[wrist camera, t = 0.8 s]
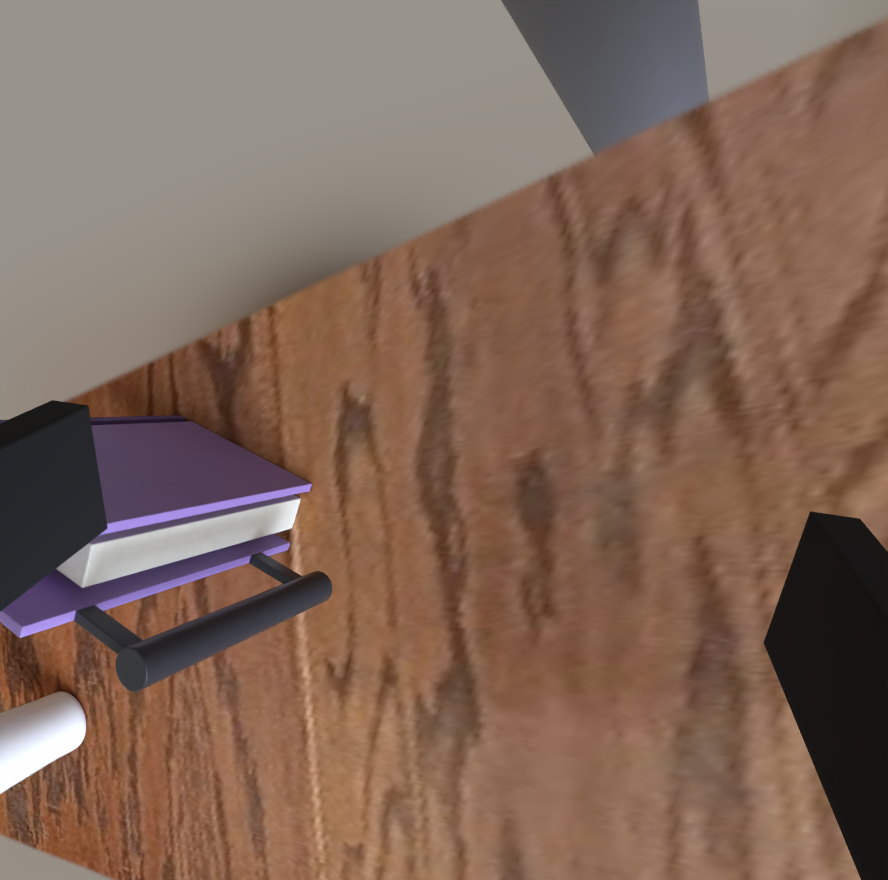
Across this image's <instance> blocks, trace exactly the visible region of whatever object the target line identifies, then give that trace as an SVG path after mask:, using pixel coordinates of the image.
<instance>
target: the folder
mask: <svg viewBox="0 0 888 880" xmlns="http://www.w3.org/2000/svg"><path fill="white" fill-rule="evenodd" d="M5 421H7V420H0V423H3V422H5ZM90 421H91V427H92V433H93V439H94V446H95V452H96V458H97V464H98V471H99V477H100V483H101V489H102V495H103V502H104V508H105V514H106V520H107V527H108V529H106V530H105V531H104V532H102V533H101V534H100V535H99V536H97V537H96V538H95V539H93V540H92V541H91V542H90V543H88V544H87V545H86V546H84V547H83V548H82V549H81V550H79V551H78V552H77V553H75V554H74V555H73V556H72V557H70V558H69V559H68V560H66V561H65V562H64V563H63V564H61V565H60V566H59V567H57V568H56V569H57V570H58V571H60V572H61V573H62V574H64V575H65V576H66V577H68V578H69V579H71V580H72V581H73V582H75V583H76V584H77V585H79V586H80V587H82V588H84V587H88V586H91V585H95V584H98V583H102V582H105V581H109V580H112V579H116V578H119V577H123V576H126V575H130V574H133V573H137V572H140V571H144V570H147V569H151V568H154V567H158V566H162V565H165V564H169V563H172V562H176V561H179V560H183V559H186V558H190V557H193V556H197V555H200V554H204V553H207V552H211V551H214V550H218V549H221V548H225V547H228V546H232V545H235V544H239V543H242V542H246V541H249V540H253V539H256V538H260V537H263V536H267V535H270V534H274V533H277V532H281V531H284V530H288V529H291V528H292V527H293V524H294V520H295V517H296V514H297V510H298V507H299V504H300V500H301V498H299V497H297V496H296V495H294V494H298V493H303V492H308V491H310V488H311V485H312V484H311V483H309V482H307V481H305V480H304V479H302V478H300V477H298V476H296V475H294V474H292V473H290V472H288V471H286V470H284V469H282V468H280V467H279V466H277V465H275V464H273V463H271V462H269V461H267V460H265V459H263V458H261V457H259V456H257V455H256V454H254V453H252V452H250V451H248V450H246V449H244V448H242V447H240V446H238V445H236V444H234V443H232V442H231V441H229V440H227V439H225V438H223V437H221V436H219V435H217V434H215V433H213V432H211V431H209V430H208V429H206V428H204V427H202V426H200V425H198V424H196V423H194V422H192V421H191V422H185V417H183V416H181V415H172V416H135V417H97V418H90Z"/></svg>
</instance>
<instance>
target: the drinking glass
mask: <svg viewBox="0 0 888 880" xmlns="http://www.w3.org/2000/svg"><path fill="white" fill-rule="evenodd" d="M85 733H86V718H85V714H84V711H83V709H82V707H81V705H80V703H79V702H78V700H77V699H76V698H75V697H74V696H72V695H71V694H69V693H67V692H61V691H60V692H55V693H52V694H49V695H47V696H45V697H42V698H40V699H37V700H35V701H32V702H29V703H26V704H23V705H20V706H18V707H15V708H12V709H9V710H6V711H3V712H0V794H1V793H3V792H4V791H6V790H7V789H9V788H11V787H12V786H14V785H15V784H17V783H19V782H20V781H22V780H24V779H25V778H27V777H28V776H30V775H32V774H33V773H35V772H36V771H38V770H40V769H41V768H43V767H45V766H46V765H48V764H50V763H51V762H53V761H54V760H56V759H58V758H60V757H62V756H64V755H66V754H68V753H69V752H71V751H73V750H75V749H76V748H77V747H78V746H79V745H80V744H81V743H82V741H83V739H84V737H85Z"/></svg>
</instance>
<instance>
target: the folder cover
mask: <svg viewBox="0 0 888 880" xmlns="http://www.w3.org/2000/svg"><path fill="white" fill-rule="evenodd" d="M289 545H290V542H288V541H286V540H284V539H283V538H281V537H279V536H277V535H276V534H270V535H267V536H263V537H260V538H256V539H253V540H249V541H246V542H242V543H239V544H235V545H232V546H228V547H225V548H221V549H218V550H214V551H211V552H207V553H204V554H200V555H197V556H193V557H190V558H186V559H183V560H179V561H176V562H172V563H169V564H165V565H162V566H158V567H154V568H151V569H147V570H144V571H140V572H137V573H133V574H130V575H126V576H123V577H119V578H116V579H112V580H109V581H105V582H102V583H98V584H95V585H91V586H88V587H84V588H82V587H80V586H79V585H77V584H76V583H75V582H73V581H72V580H71V579H69V578H68V577H66V576H65V575H64V574H62V573H61V572H60V571H58V570H57V569H55V570H54V571H52V572H51V573H50V574H48V575H47V576H46V577H45V578H43V579H42V580H41V581H39V582H38V583H37V584H36V585H34V586H33V587H32V588H30V589H29V590H28V591H27V592H25V593H24V594H23V595H21V596H20V597H19V598H17V599H16V600H15V601H14V602H12V603H11V604H10V605H8V606H7V607H6V608H5V609H3V610H2V611H1V612H0V622H1V623H2V624H4V625H5V626H6V627H7V628H8V629H10V630H11V631H12V632H13V633H14V634H16V635H17V636H18V637H19V638H22V637H25V636H28V635H31V634H34V633H37V632H40V631H43V630H46V629H49V628H52V627H55V626H58V625H61V624H64V623H67V622H70V621H73V620H74V621H75V622H76V623H77V624H79V625H80V626H81V627H83V628H84V629H85V630H87V631H88V632H89V633H91V634H92V635H93V636H94V637H96V638H97V639H98V640H100V641H101V642H102V643H104V644H105V645H106V646H108V647H109V648H110V649H111V650H113V651H114V652H115V653H117V654H118V655H117V658H116V672H117V675H118V678H119V680H120V682H121V683H122V685H123V686H124V687H125V688H127V689H128V690H130V691H140V690H142V689H144V688H146V687H148V686H150V685H152V684H154V683H156V682H158V681H161V680H163V679H165V678H167V677H169V676H171V675H173V674H175V673H177V672H179V671H181V670H183V669H185V668H188V667H190V666H192V665H194V664H196V663H198V662H200V661H202V660H204V659H206V658H208V657H210V656H212V655H214V654H217V653H219V652H221V651H223V650H225V649H227V648H229V647H231V646H233V645H235V644H237V643H239V642H241V641H244V640H246V639H248V638H250V637H252V636H254V635H256V634H258V633H260V632H262V631H264V630H266V629H268V628H270V627H273V626H275V625H277V624H279V623H281V622H283V621H285V620H287V619H289V618H291V617H293V616H295V615H297V614H300V613H302V612H304V611H306V610H308V609H310V608H312V607H314V606H316V605H318V604H320V603H322V602H324V601H326V600H328V599H329V597H330V596H331V593H332V584H331V581H330V579H329V578H328V576H327V575H326V574H324V573H323V572H319V571H315V572H312V573H310V574H307V575H305V576H300V575H299V574H297V573H295V572H294V571H292V570H290V569H289V568H287V567H285V566H284V565H282V564H280V563H279V562H277V561H275V560H274V559H272V558H270V557H269V556H271V555H274V554H277V553H280V552H283V551H286V550H288V548H289ZM246 563H250V564H252V565H253V566H255V567H257V568H258V569H260V570H261V571H263V572H265V573H266V574H268V575H270V576H271V577H273V578H275V579H276V580H278V581H279V582H281V583H283V584H282V585H280V586H277V587H275V588H272V589H270V590H267V591H265V592H262V593H260V594H257V595H255V596H252V597H250V598H247V599H245V600H242V601H240V602H237V603H235V604H232V605H230V606H227V607H225V608H223V609H220V610H218V611H215V612H213V613H210V614H208V615H205V616H203V617H200V618H198V619H195V620H193V621H190V622H188V623H185V624H183V625H180V626H178V627H175V628H173V629H170V630H168V631H165V632H163V633H160V634H158V635H155V636H153V637H150V638H148V639H145V640H142V639H140V638H139V637H138V636H136V635H135V634H134V633H132V632H131V631H130V630H128V629H127V628H125V627H124V626H123V625H121V624H120V623H119V622H117V621H116V620H115V619H113V618H112V617H111V616H109V615H108V614H106V613H105V612H104V610H107V609H110V608H113V607H116V606H119V605H122V604H125V603H128V602H131V601H134V600H137V599H140V598H143V597H146V596H149V595H152V594H155V593H158V592H161V591H164V590H167V589H171V588H174V587H177V586H180V585H183V584H186V583H189V582H192V581H195V580H198V579H201V578H204V577H207V576H210V575H213V574H216V573H219V572H222V571H225V570H228V569H231V568H234V567H237V566H240V565H243V564H246Z"/></svg>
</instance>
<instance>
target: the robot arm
mask: <svg viewBox="0 0 888 880" xmlns="http://www.w3.org/2000/svg"><path fill="white" fill-rule="evenodd" d="M106 529H108V527H107V520H106V514H105V508H104V502H103V495H102V489H101V483H100V477H99V471H98V464H97V458H96V452H95V446H94V439H93V433H92V427H91V421H90V414H89V408H88V406H87V405H80V404H74V403H67V402H60V401H53V400H52V401H50V402H48V403H45V404H43V405H41V406H39V407H36V408H34V409H32V410H30V411H27V412H25V413H23V414H21V415H18V416H16V417H14V418H12V419H9V420H7V421H5V422H3V423H0V612H1V611H2V610H3V609H5V608H6V607H7V606H8V605H10V604H11V603H12V602H14V601H15V600H16V599H17V598H19V597H20V596H21V595H23V594H24V593H25V592H27V591H28V590H29V589H30V588H32V587H33V586H34V585H36V584H37V583H38V582H39V581H41V580H42V579H43V578H45V577H46V576H47V575H48V574H50V573H51V572H52V571H54V570H55V569H56V568H57V567H59V566H60V565H61V564H63V563H64V562H65V561H66V560H68V559H69V558H70V557H72V556H73V555H74V554H75V553H77V552H78V551H79V550H81V549H82V548H83V547H84V546H86V545H87V544H88V543H90V542H91V541H92V540H93V539H95V538H96V537H97V536H99V535H100V534H101V533H102V532H104V531H105V530H106ZM764 645H765V647H766V650H767V652H768V654H769V657H770V659H771V662H772V664H773V667H774V669H775V671H776V674H777V676H778V679H779V681H780V684H781V686H782V688H783V691H784V693H785V696H786V698H787V701H788V703H789V705H790V708H791V710H792V713H793V715H794V718H795V720H796V722H797V725H798V727H799V730H800V732H801V735H802V737H803V739H804V742H805V744H806V747H807V749H808V752H809V754H810V757H811V759H812V761H813V764H814V766H815V769H816V771H817V774H818V776H819V778H820V781H821V783H822V786H823V788H824V791H825V793H826V795H827V798H828V800H829V803H830V805H831V808H832V810H833V812H834V815H835V817H836V820H837V822H838V825H839V827H840V829H841V832H842V834H843V837H844V839H845V842H846V844H847V846H848V849H849V851H850V854H851V856H852V859H853V861H854V863H855V866H856V868H857V871H858V873H859V876H860V878H861V880H888V552H887V551H886V550H885V548H884V547H883V546H882V545H881V544H880V542H879V541H878V540H877V539H876V538H875V536H874V535H873V534H872V533H871V532H870V530H869V529H868V528H867V527H866V526H865V524H864V523H863V522H862V521H861V520H860V519H858V518H851V517H844V516H837V515H830V514H823V513H817V512H810V514H809V516H808V519H807V522H806V525H805V528H804V531H803V533H802V536H801V539H800V542H799V545H798V547H797V550H796V553H795V556H794V559H793V562H792V564H791V567H790V570H789V573H788V576H787V578H786V581H785V584H784V587H783V590H782V593H781V595H780V598H779V601H778V604H777V607H776V609H775V612H774V615H773V618H772V621H771V624H770V626H769V629H768V632H767V635H766V638H765V641H764Z"/></svg>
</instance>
